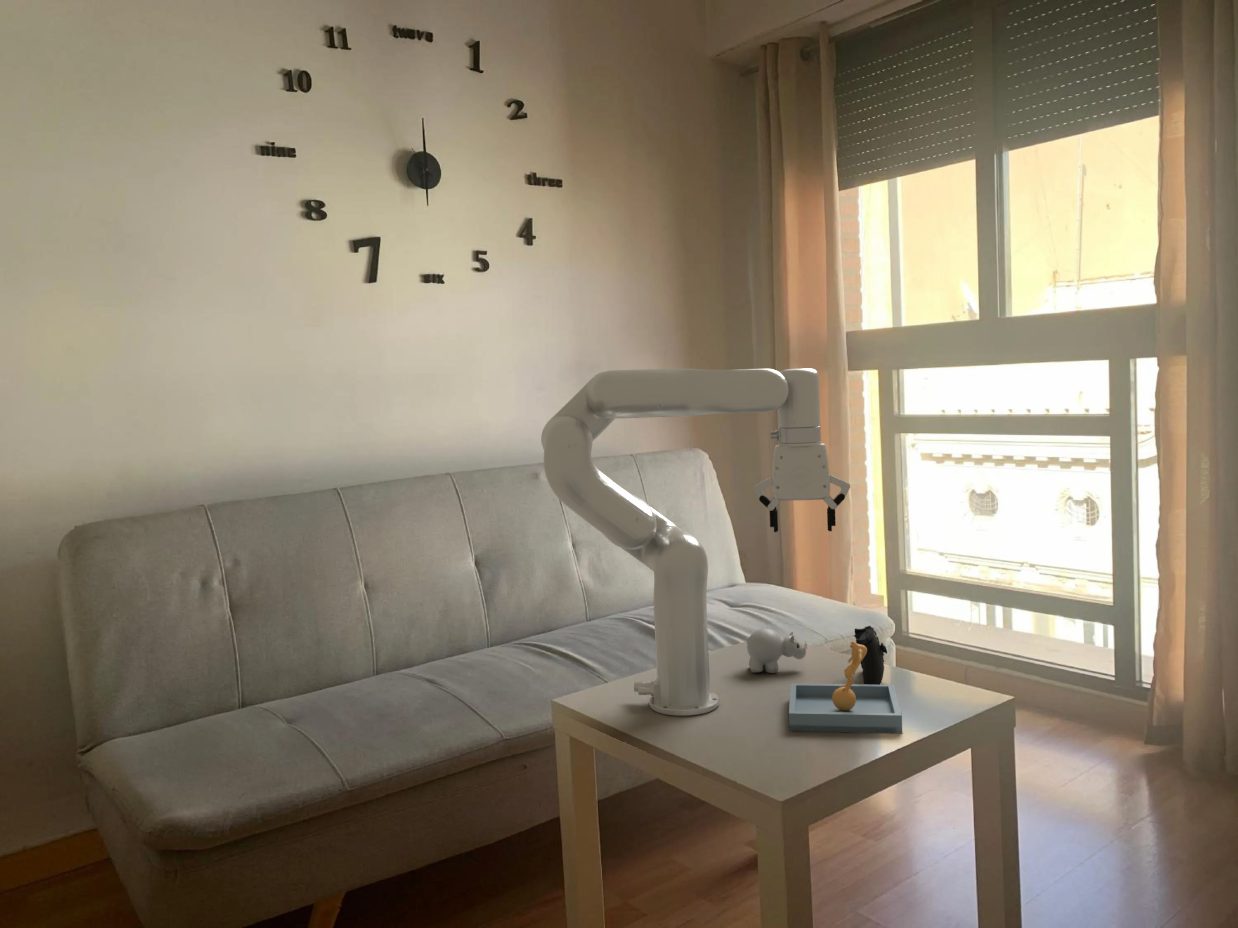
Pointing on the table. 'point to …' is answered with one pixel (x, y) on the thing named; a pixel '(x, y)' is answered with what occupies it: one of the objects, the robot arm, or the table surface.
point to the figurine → (844, 695)
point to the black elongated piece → (871, 655)
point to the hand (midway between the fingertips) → (802, 530)
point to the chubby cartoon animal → (772, 649)
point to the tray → (867, 716)
